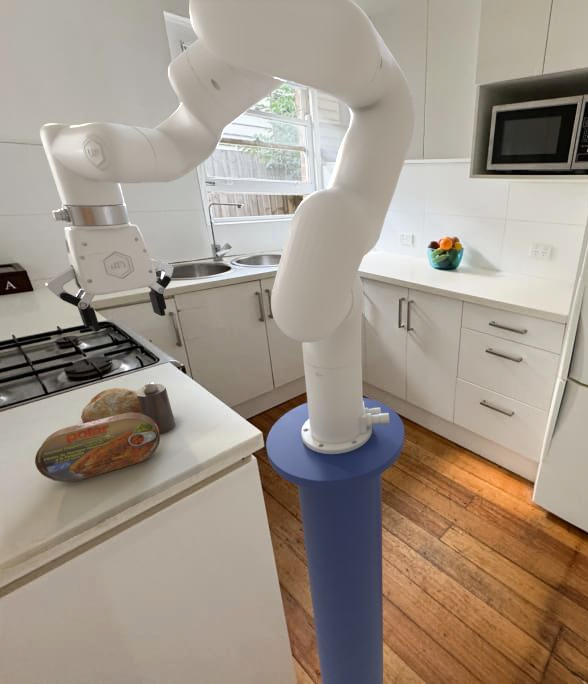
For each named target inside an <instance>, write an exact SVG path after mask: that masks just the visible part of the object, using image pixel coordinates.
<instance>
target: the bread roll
mask: <svg viewBox="0 0 588 684" xmlns="http://www.w3.org/2000/svg"><path fill="white" fill-rule="evenodd" d="M137 391H138V390H133V389H129V388H125V387H113V388H108V389H105V390H102V391H100V392H99V393H97V394H96V395H95V396H93V397H92V398H91V399H90V401H89V402H88V403H87V404H86V405H85V406H84V408H83V409H82V411H81V416H80V418H81V421H82V424H83V423H87V422H91V421H95V420H99V419H103V418H107V417H111V416H116V415H120V414H124V413H140V414H142V411H141V408H140V405H139V402H138V399H137V395H136V392H137Z"/></svg>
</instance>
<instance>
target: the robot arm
mask: <svg viewBox="0 0 588 684" xmlns="http://www.w3.org/2000/svg"><path fill="white" fill-rule="evenodd" d="M188 4H189V8H188V9H189V12H188V13H189V17H190V18H189V19H190V23H191V26H192V29H193V31H194V32H193V33H194V34H195V35H196V37H197V39H196V40H195V41H194V42H193V43H191V44H190V45H189V46H188V47H187V48H186V49H184V51H182V52H181V53H180V54H179V55H177V56H176V57H174V59H173V60H171V62H169V64H168V68H167V76H168V80H169V83H170V86H171V87H172V89H173V91H174V94H175V95H176V97H177V99H179V101H180V104H179V106H178V107H177V109H176V110H175V111H174V112H173V113H172V114H171V115H170V116H168V118H166V119H165V120H163V121H162V122H161V123H160V124H158V125H157V126H155V127H153V128H149V127H144V126H136V125H129V124H121V123H114V122H108V121H95V122H88V123H83V124H69V123H47V124H43V125H42V126H41V127H40V129H39V138H40V140H41V144H42V147H43V150H44V153H45V156H46V159H47V163H48V166H49V169H50V171H51V175H52V177H53V181H54V184H55V187H56V189H57V193H58V196H59V199H60V202H61V205H60V209H57V210H52V211H51V215H52V218H53V220H54V221H57V222H58V221H61V222H65V223H66V224H67V225H68V227H64V239H65V240H64V241H65V246H66V252H67V257H68V261H69V266H70V267H68V268H66V269H65V270H64V271H62V272H60V273H59V274H57V275H55V276H54V277H52V278H50V279H49V280H47V281H46V282H45V283H44V286H45V287H46V288H47V289H48V290H49V291H51V293H53V294H54V295H56V297H58V298H59V299H60V300H62V301H64V302H66V303H67V304H70V305H72V306H75V307H76V308H77V309H78V312H79V315H80V318H81V321H82V324H83V325H84V327H85V328H89V329H90V330H92V331H93V332H95V333H97V332H100V331H101V326H100V323H99V320H98V317H97V314H96V311H95V309H94V307H92V306H91V305H90V304H91V302H92V301H93V299H94V297H95V296H103V295H110V294H115V293H120V292H121V293H122V292H127V291H131V290H138V289H143V288H148V289H150V291H149V293H148V297H149V300H150V303H151V306H152V310H153V313H154V314H157V315H158V316H161V317H164V316H166V311H165V310H167V304H166V300H165V296H164V293H166V289H167V287H168V286H169V285H170V283H171V282H172V279H171V278H172V276H173V273H174V269H175V266H174V265H172V264H169V263H166V262H162V261H159V260H156V259H153V258H152V257H151V255H150V252H149V248H148V246H147V244H146V242H145V239H144V237H143V234H142V232H141V230H140V228H139V226H138V225H137V224H133V223H131V221H130V217H129V213H128V209H127V206H126V202H125V198H124V194H123V189H122V187H121V184H141V183H143V184H145V183H146V184H147V183H169V182H174V181H177V180H179V179H181V178H183V177H184V176H186V175H188V174H189V173H190V172H192V171H193V170H195V169H196V168H197V167H199V166H200V165H202V164H203V163H204V162H205V161H207V160H208V159H210V157H211V156H212V155H213V154H214V153H215V151H216V150H217V148H218V146H219V145H220V142H221V141H222V139H223V136H224V132H225V129H226V128H227V127H229V126H230V125H231V124H232V123H234V122H235V121H236V120H238V119H239V118H240V117H242V115H244V114H245V113H246V112H248V111H249V110H251V109H252V108H253V107H255V106H256V105H257V104H259V103H260V102H261V101H263V100H264V99H265V98H267V97H268V96H270V95H271V94H272V93H273V92H275V91H276V90H278V89H279V88H280V87H281V86H283V85H284V84H286V83H287V82H288V83H292V84H296V85H299V86H302V87H307V88H310V89H313V90H316V91H319V92H321V93H324V94H326V95H327V96H330V97H332V98H333V99H335V100H336V101H338V102H339V103H342V104H343V105H345V106H346V107H347V108H348V109H349V112H350V123H349V125H348V128H347V131H346V133H345V134H344V136H343V139H342V141H341V144H340V148H339V150H338V154H337V157H336V162H335V166H334V169H333V172H332V175H331V178H330V180H329V183H328V185H327V187H326V188H323V189H319V190H317V191H314V192H312V193H310V194H309V195H307V196H306V197H305V198H304V199H303V200H302V201H301V202H300V204H299V205H298V206H297V207H296V209H295V211H294V213H293V215H292V217H291V220H290V222H289V226H288V229H287V231H286V235H285V240H284V243H283V248H282V251H281V256H280V259H279V262H278V267H277V271H276V274H275V277H274V282H273V286H272V290H271V297H270V308H271V309H270V310H271V315H272V317H273V320H274V322H275V324H276V326H277V327H278V329H279V330H280V331H281V332H282V333H283V334H284V335H285V336H287V337H288V338H289V339H292V340H294V341H296V342H300V343H301V349H302V357H303V370H304V379H305V390H306V402H307V403H308V411H309V419H308V420H307V421H306V422H305V424H304V425H303V427H302V432H301V434H302V440H303V442H304V444H305V445H306V446H307V447H308V448H310V449H311V450H313V451H316V452H318V453H323V454H341V453H346V452H350V451H353V450H355V449H357V448H359V447H360V446H362V445H363V444H365V443H366V442H367V441H368V439H369V438H370V436H371V434H372V425H375V424H389V413H382V414H381V409H380V408H373V409H368V408H365V406H364V401H363V398H364V397H363V396H364V395H363V394H364V393H363V391H364V390H363V362H362V361H363V359H362V358H363V357H362V354H363V350H362V348H363V347H362V325H363V324H362V321H363V310H364V309H363V307H364V288H363V282H362V280H361V276H360V274H359V273H358V272H359V269H360V266H361V264H362V261H363V259H364V257H365V256H366V255H367V254H368V253H370V252H371V251H372V250H373V249H374V247H376V245H377V243H378V241H379V240H380V237H381V233H382V230H383V227H384V223H385V220H386V218H387V214H388V212H389V209H390V206H391V203H392V201H393V200H392V199H393V197H394V195H395V192H396V189H397V185H398V182H399V179H400V176H401V173H402V170H403V167H404V165H405V161H406V158H407V155H408V152H409V149H410V146H411V142H412V139H413V135H414V134H413V133H414V129H415V105H414V104H415V103H414V97H413V94H412V89H411V86H410V84H409V81H408V80H407V78H406V77H407V76H406V75H405V73H404V72H403V70H402V68H401V67H400V65H399V63H398V62H397V60H396V59H395V56H394V55H393V54H392V51H390V49H389V48H388V46H387V45H386V43H385V41H384V39H383V38H382V37H381V35H380V34H379V32H378V31H377V29H376V28H375V25H374V24H373V22H372V20H371V19H370V18H369V16H368V15H367V14H366V12H365V11H364V10H363V9H362V8H361V7H360V6H359V5H358V4H357V3H356V2H354V1H353V0H189V3H188ZM156 269H159V270H161V275H160V276H159V277H157V273H156ZM72 280H74V282H75V285H76V287H77V289H79V290H78V291H77V292H76V295H73V294H71V293H68V291H66V289H65V288H64V286H65V285H66V284H68V283H70V282H71V281H72Z"/></svg>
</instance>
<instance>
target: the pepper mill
mask: <svg viewBox="0 0 588 684" xmlns="http://www.w3.org/2000/svg"><path fill="white" fill-rule="evenodd" d="M167 390H168V389H167V386H166V385H164V384H162V383H154V382H148V383H146V384H144V386H142V387H141V388H139V389H138V390H136V391H137V392H136V395H137V399H138V402H139V405H140V408H141V411H142V414H143V415H146V416H148V417H150V418H151V419H153V420H154V421H155V423H156V424H157V426H158V429H159V435H162V434H165V433H167V432H169V431H171V430H173V429H174V428H175V426H176V421H175V417H174V413H173V409H172V406H171V401H170V398H169V394H168V391H167Z"/></svg>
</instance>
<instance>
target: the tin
mask: <svg viewBox="0 0 588 684" xmlns="http://www.w3.org/2000/svg"><path fill="white" fill-rule="evenodd" d="M160 440H161V434H159V429H158V426H157V424H156V423H155V421H154V420H153V419H151V418H150V417H148V416H146V415H143V414H140V413H124V414H120V415H116V416H111V417H107V418H103V419H99V420H95V421H91V422H87V423H83V422H82V423H79V424H75V425H70V426H67V427H63V428H61V429H58V430H56V431H54V432H53V433H51V434H50V435H48V436H47V438H46V439H45V440H43V442H42V444H41V446H40V447H39V448H38V450H37V452H36V455H35V456H34V464H35V467H36V469H37V470H38V472H39V473H40V474H41V475H42V476H44V477H45V478H46V479H49V480H51V481H54V482H55V481H56V482H61V483H72V482H79V481H82V480H87V479H89V478H93V477H96V476H99V475H103V474H106V473H109V472H113V471H116V470H119V469H123V468H126V467H130V466H132V465H136V464H140V463H142V462H144V461H145V460H147V459H148V458H150V457H151V456H152V455H153V454H154V453H155V452H156V450H157V449H158V448H159V445H160V442H161V441H160Z"/></svg>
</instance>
